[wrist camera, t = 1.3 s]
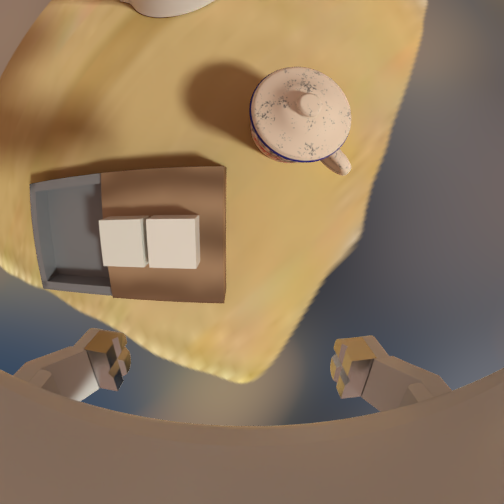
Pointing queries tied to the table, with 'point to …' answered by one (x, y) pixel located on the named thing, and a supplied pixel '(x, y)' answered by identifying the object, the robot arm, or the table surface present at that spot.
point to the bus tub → (69, 234)
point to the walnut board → (172, 203)
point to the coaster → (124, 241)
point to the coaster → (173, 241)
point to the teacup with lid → (301, 118)
